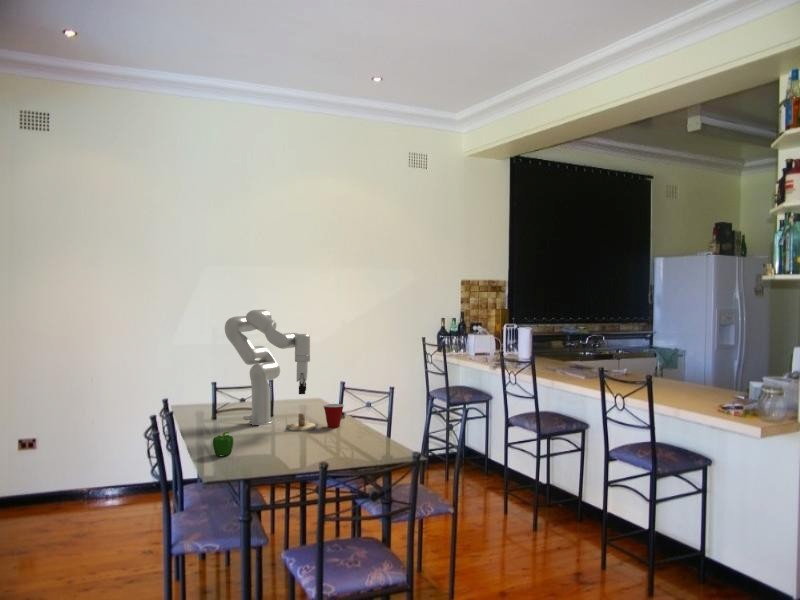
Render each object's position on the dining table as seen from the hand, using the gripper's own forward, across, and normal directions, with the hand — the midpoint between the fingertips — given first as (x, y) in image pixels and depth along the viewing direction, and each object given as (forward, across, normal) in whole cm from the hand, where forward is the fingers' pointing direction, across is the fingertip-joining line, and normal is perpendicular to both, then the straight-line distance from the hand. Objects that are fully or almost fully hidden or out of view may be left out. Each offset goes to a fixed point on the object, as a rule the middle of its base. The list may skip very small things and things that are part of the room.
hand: (302, 392), depth 304 cm
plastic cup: (+18, 0, +16) cm, 24 cm away
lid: (+18, 0, 0) cm, 18 cm away
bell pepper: (+19, +45, -31) cm, 58 cm away
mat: (+18, 0, 0) cm, 18 cm away
